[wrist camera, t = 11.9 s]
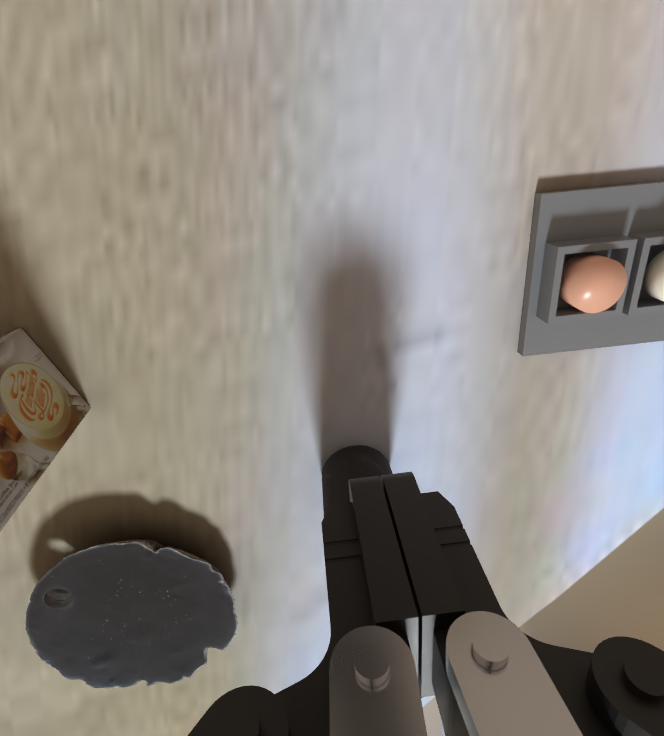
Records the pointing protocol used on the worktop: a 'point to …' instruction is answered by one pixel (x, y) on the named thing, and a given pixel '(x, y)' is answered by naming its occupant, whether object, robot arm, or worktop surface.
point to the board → (130, 614)
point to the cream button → (655, 277)
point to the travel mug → (350, 472)
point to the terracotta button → (592, 282)
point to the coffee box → (31, 417)
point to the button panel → (603, 237)
